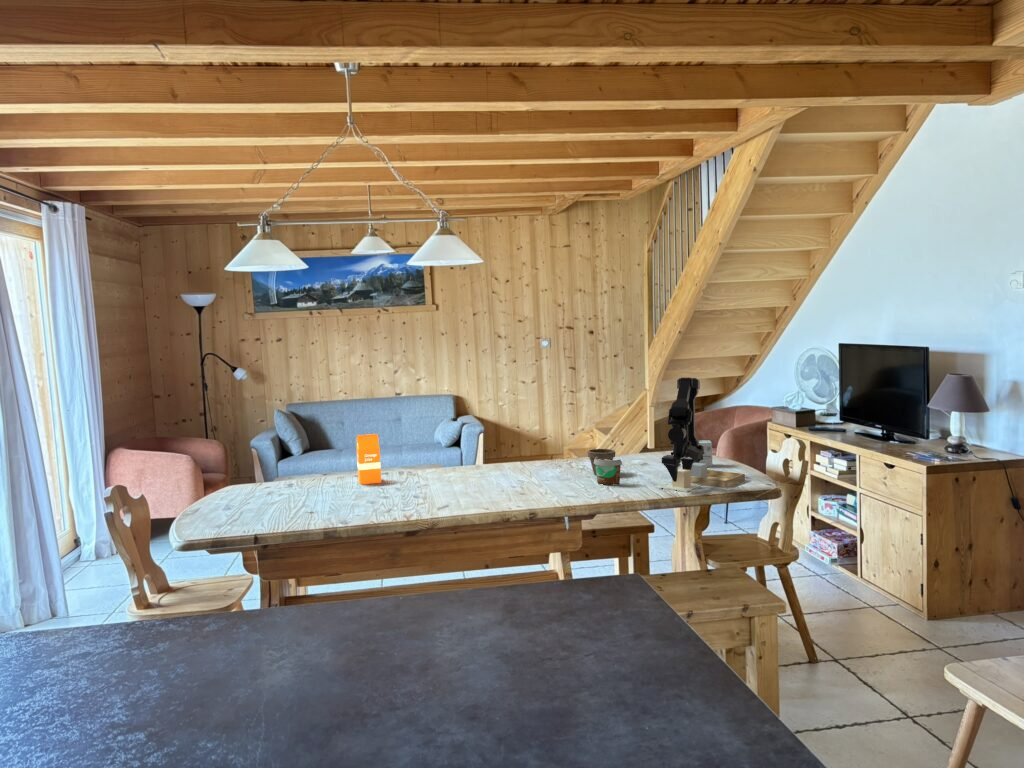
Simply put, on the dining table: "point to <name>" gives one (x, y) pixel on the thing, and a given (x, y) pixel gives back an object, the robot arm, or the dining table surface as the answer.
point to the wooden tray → (719, 478)
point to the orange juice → (368, 459)
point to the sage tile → (681, 488)
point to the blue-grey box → (699, 470)
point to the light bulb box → (707, 452)
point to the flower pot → (600, 456)
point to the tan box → (682, 479)
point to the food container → (608, 471)
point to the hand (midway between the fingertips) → (681, 479)
